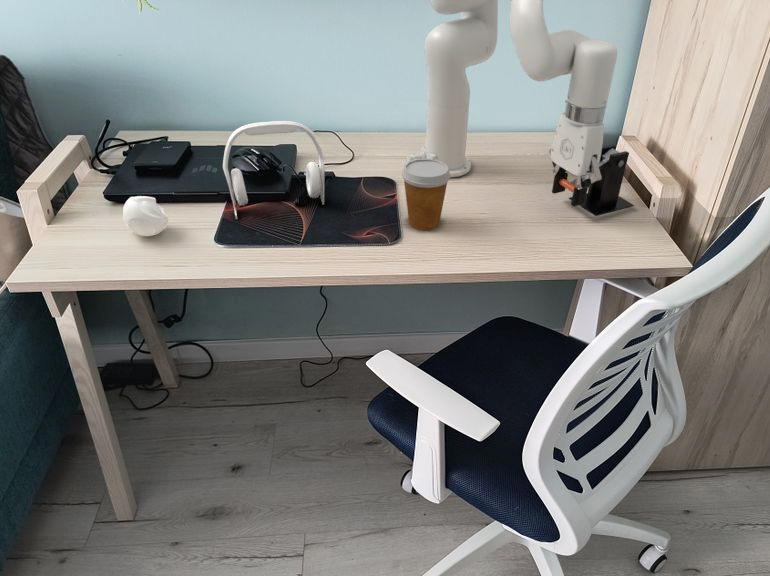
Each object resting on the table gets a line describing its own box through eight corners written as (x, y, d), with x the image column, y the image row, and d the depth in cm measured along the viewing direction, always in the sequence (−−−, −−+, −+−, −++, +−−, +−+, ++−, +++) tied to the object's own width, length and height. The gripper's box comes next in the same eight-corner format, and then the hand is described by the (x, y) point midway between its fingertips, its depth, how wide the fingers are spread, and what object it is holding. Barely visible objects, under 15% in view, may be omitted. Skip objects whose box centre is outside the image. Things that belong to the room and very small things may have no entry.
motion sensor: (175, 238, 122) (166, 201, 117) (134, 247, 119) (123, 210, 114) (164, 220, 127) (156, 184, 122) (124, 229, 124) (113, 192, 119)
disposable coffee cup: (453, 217, 134) (456, 162, 126) (438, 238, 127) (441, 181, 119) (410, 208, 136) (411, 154, 128) (393, 228, 129) (394, 172, 121)
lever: (576, 198, 131) (575, 189, 130) (559, 187, 135) (558, 178, 133) (625, 164, 133) (625, 154, 131) (608, 154, 137) (607, 145, 135)
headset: (323, 194, 139) (317, 112, 128) (330, 209, 134) (325, 124, 123) (229, 204, 134) (214, 119, 122) (232, 220, 129) (217, 133, 117)
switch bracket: (594, 220, 136) (607, 162, 127) (567, 202, 142) (578, 146, 133) (632, 209, 140) (647, 153, 132) (605, 193, 146) (618, 138, 138)
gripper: (541, 100, 127) (529, 185, 138) (599, 130, 115) (580, 220, 127) (571, 95, 130) (556, 178, 141) (630, 124, 119) (608, 212, 130)
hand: (567, 197), depth 134 cm, fingers closed on lever, 5 cm apart
